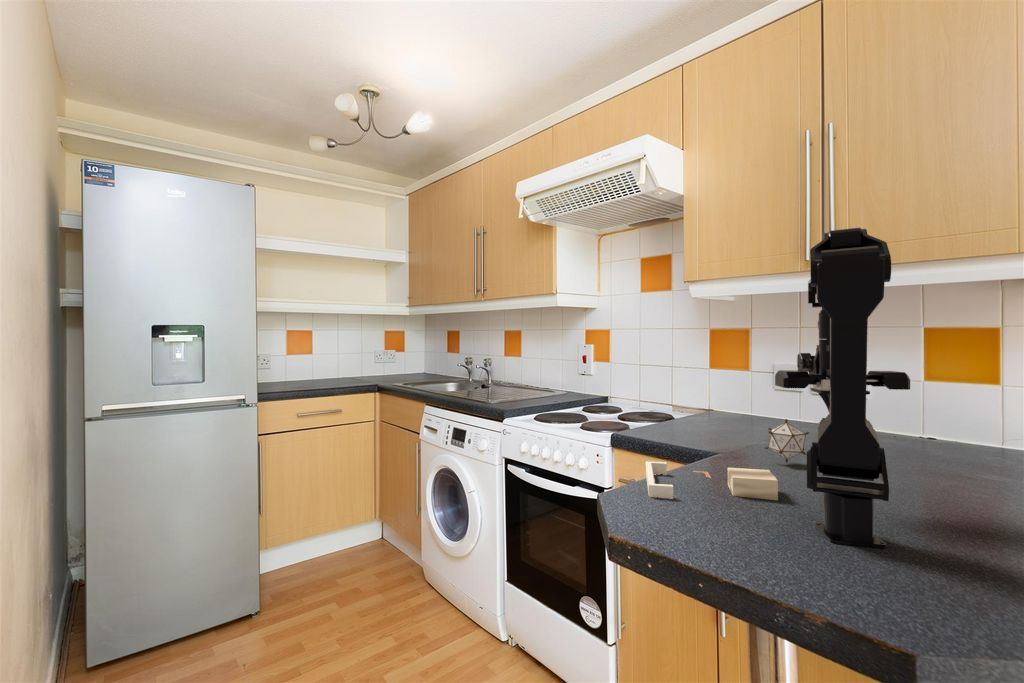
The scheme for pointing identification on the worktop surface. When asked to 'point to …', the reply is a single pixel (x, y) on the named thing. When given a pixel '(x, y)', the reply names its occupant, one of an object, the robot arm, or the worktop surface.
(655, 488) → the cream u-shaped piece
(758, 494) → the birch block
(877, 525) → the worktop surface
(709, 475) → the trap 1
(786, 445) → the game die
